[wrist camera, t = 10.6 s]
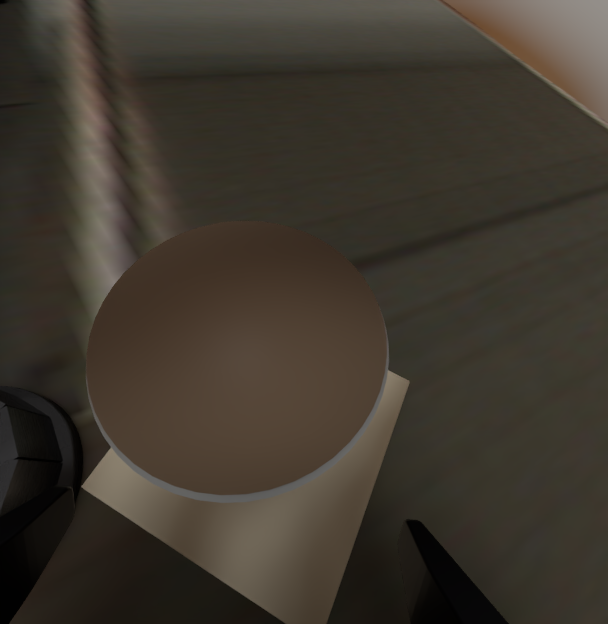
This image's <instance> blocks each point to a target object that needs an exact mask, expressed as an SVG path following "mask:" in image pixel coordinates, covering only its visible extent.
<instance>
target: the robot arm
mask: <svg viewBox="0 0 608 624" xmlns="http://www.w3.org/2000/svg"><path fill="white" fill-rule="evenodd" d="M74 513H75V505H74V494H73V489H72V488H71V487H70V486H60V485H56V486H53V487H51V488H49V489H47V490H46V491H44V492H42V493H40V494H39V495H37V496H35V497H33V498H32V499H30V500H28V501H26V502H25V503H23V504H21V505H19V506H18V507H16V508H14V509H13V510H11V511H9V512H7V513H6V514H4V515H2V516H0V624H9V623H10V621H11V620H12V618H13V617H14V615H15V614H16V613H17V611H18V610H19V608H20V607H21V605H22V604H23V602H24V601H25V599H26V598H27V596H28V595H29V593H30V592H31V590H32V589H33V587H34V585H35V584H36V582H37V580H38V579H39V577H40V575H41V574H42V572H43V570H44V568H45V567H46V565H47V563H48V561H49V560H50V558H51V556H52V554H53V553H54V551H55V549H56V547H57V546H58V544H59V542H60V541H61V539H62V537H63V535H64V534H65V532H66V530H67V528H68V527H69V525H70V523H71V521H72V519H73V517H74ZM398 553H399V559H400V565H401V571H402V577H403V583H404V589H405V594H406V600H407V606H408V612H409V617H410V622H411V624H509V623H508V622H507V621H506V620H505V619H504V618H503V616H502V615H501V614H500V613H499V612H498V611H497V610H496V608H495V607H494V606H493V605H492V604H491V603H490V601H489V600H488V599H487V598H486V597H485V596H484V594H483V593H482V592H481V591H480V590H479V589H478V587H477V586H476V585H475V584H474V583H473V582H472V581H471V579H470V578H469V577H468V576H467V575H466V574H465V572H464V571H463V570H462V569H461V568H460V567H459V565H458V564H457V563H456V562H455V561H454V560H453V558H452V557H451V556H450V555H449V554H448V553H447V551H446V550H445V549H444V548H443V547H442V546H441V545H440V543H439V542H438V541H437V540H436V539H435V538H434V536H433V535H432V534H431V533H430V532H429V531H428V529H427V528H426V527H425V526H424V525H423V524H422V523H421V522H420V521H418V520H410V519H405V520H404V522H403V525H402V528H401V532H400V536H399V540H398Z"/></svg>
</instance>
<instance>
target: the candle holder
mask: <svg viewBox="0 0 608 624" xmlns="http://www.w3.org/2000/svg"><path fill="white" fill-rule="evenodd" d="M82 464H83V458H82V447H81V442H80V438H79V435H78V432H77V430H76V427H75V425H74V423H73V422H72V420H71V419H70V417H69V416H68V415H67V413H66V412H65V411H64V410H63V409H62V408H61V407H59V406H58V405H57V404H55V403H54V402H53V401H51V400H49V399H47V398H45V397H43V396H40V395H37V394H35V393H32V392H29V391H26V390H23V389H20V388H14V387H8V386H0V516H2V515H4V514H6V513H7V512H9V511H11V510H13V509H14V508H16V507H18V506H19V505H21V504H23V503H25V502H26V501H28V500H30V499H32V498H33V497H35V496H37V495H39V494H40V493H42V492H44V491H46V490H47V489H49V488H51V487H53V486H56V485H60V486H70V487H71V488H72V489H73V494H74V504H75V501H76V498H77V494H78V491H79V487H80V482H81V476H82Z"/></svg>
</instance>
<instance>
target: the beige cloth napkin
mask: <svg viewBox="0 0 608 624" xmlns="http://www.w3.org/2000/svg"><path fill="white" fill-rule="evenodd" d="M409 383H410V381H408V380H406V379H404V378H402V377H400V376H398V375H396V374H394V373H392V372H390V371H388V373H387V380H386V384H385V388H384V392H383V396H382V398H381V401H380V403H379V406H378V408H377V411H376V413H375V415H374V417H373V419H372V420H371V422H370V424H369V426H368V427H367V429H366V431H365V432H364V434H363V435H362V436H361V437H360V439H359V440H358V441H357V443H356V444H355V445H354V446H353V448H352V449H351V450H350V451H349V452H348V453H347V454H346V455H345V456H344V457H343V458H341V459H340V460H339V461H338V462H337V463H336V464H335V465H334V466H333V467H331V468H330V469H328V470H327V471H325V472H324V473H323V474H321V475H320V476H318V477H317V478H316V479H314V480H312V481H310V482H308V483H306V484H304V485H302V486H300V487H298V488H296V489H294V490H291V491H288V492H286V493H283V494H280V495H277V496H274V497H271V498H266V499H260V500H255V501H250V502H234V503H218V502H209V501H200V500H195V499H192V498H188V497H184V496H181V495H177V494H174V493H172V492H169V491H167V490H165V489H163V488H161V487H159V486H156V485H154V484H152V483H151V482H149V481H148V480H146V479H145V478H143V477H142V476H140V475H139V474H137V473H136V472H135V471H133V470H132V469H131V468H130V467H129V466H128V465H127V464H126V463H125V462H124V461H123V460H122V459H121V458H120V457H119V456H118V455H117V454H116V453H115V451H114V450H113V449H112V447H111V448H110V450H109V451H108V452H107V454H106V455H105V456H104V458H103V459H102V460H101V461H100V463H99V464H98V465H97V467H96V468H95V469H94V471H93V472H92V473H91V475H90V476H89V477H88V478H87V480H86V481H85V482H84V484H83V485H82V486H81V487H82V488H83V489H85V490H86V491H88V492H89V493H91V494H92V495H94V496H95V497H97V498H98V499H100V500H101V501H103V502H104V503H106V504H107V505H109V506H110V507H112V508H113V509H115V510H116V511H118V512H119V513H121V514H122V515H124V516H125V517H127V518H128V519H130V520H131V521H133V522H134V523H136V524H137V525H139V526H140V527H142V528H143V529H145V530H146V531H148V532H149V533H151V534H152V535H154V536H155V537H157V538H158V539H160V540H161V541H163V542H164V543H166V544H167V545H169V546H170V547H172V548H173V549H175V550H176V551H178V552H179V553H181V554H182V555H184V556H185V557H187V558H188V559H190V560H191V561H193V562H194V563H196V564H197V565H199V566H200V567H202V568H203V569H205V570H206V571H208V572H209V573H211V574H212V575H214V576H215V577H217V578H218V579H220V580H221V581H223V582H224V583H226V584H227V585H229V586H230V587H232V588H233V589H235V590H236V591H238V592H239V593H241V594H242V595H244V596H245V597H247V598H248V599H250V600H251V601H253V602H254V603H256V604H257V605H259V606H260V607H262V608H263V609H265V610H266V611H268V612H269V613H271V614H272V615H274V616H275V617H277V618H278V619H280V620H281V621H283V622H284V623H286V624H326V623H327V621H328V618H329V615H330V612H331V609H332V606H333V603H334V600H335V597H336V594H337V592H338V589H339V586H340V583H341V580H342V577H343V574H344V571H345V568H346V565H347V562H348V560H349V557H350V554H351V551H352V548H353V545H354V542H355V539H356V536H357V533H358V531H359V528H360V525H361V522H362V519H363V516H364V513H365V510H366V507H367V504H368V502H369V499H370V496H371V493H372V490H373V487H374V484H375V481H376V478H377V475H378V473H379V470H380V467H381V464H382V461H383V458H384V455H385V452H386V449H387V446H388V444H389V441H390V438H391V435H392V432H393V429H394V426H395V423H396V420H397V417H398V415H399V412H400V409H401V406H402V403H403V400H404V397H405V394H406V391H407V388H408V386H409Z"/></svg>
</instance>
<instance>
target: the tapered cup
mask: <svg viewBox="0 0 608 624" xmlns="http://www.w3.org/2000/svg"><path fill="white" fill-rule="evenodd" d="M388 364H389V347H388V337H387V331H386V326H385V322H384V319H383V316H382V313H381V310H380V308H379V305H378V303H377V301H376V298H375V296H374V294H373V292H372V290H371V289H370V287H369V285H368V284H367V282H366V281H365V279H364V278H363V276H362V275H361V274H360V273H359V271H358V270H357V269H356V268H355V267H354V265H353V264H351V263H350V262H349V261H348V260H347V259H346V258H345V257H344V256H343V255H342V254H341V253H339V252H338V251H337V250H335V249H334V248H333V247H331V246H330V245H328V244H327V243H325V242H323V241H322V240H320V239H318V238H316V237H314V236H312V235H310V234H308V233H306V232H303V231H300V230H297V229H294V228H291V227H288V226H284V225H280V224H275V223H268V222H261V221H231V222H223V223H216V224H211V225H207V226H203V227H199V228H195V229H193V230H190V231H187V232H184V233H182V234H179V235H177V236H175V237H173V238H171V239H169V240H167V241H165V242H163V243H162V244H160V245H158V246H157V247H155V248H153V249H152V250H150V251H149V252H148V253H146V254H145V255H144V256H142V257H141V258H140V259H138V260H137V261H136V262H135V263H134V264H133V265H132V266H131V267H130V268H129V269H128V270H127V271H126V272H125V273H124V274H123V275H122V276H121V277H120V279H119V280H118V281H117V282H116V283H115V285H114V286H113V287H112V289H111V290H110V292H109V293H108V295H107V297H106V298H105V300H104V301H103V303H102V305H101V307H100V310H99V312H98V314H97V316H96V318H95V321H94V324H93V327H92V330H91V333H90V337H89V343H88V349H87V359H86V383H87V390H88V398H89V402H90V405H91V408H92V411H93V415H94V418H95V420H96V422H97V424H98V426H99V428H100V430H101V432H102V434H103V436H104V438H105V439H106V441H107V442H108V443H109V445H110V446H111V447H112V449H113V450H114V451H115V453H116V454H117V455H118V456H119V457H120V458H121V459H122V460H123V461H124V462H125V463H126V464H127V465H128V466H129V467H130V468H131V469H132V470H133V471H135V472H136V473H137V474H139V475H140V476H142V477H143V478H145V479H146V480H148V481H149V482H151V483H152V484H154V485H156V486H159V487H161V488H163V489H165V490H167V491H169V492H172V493H174V494H177V495H181V496H184V497H188V498H192V499H195V500H200V501H209V502H218V503H234V502H250V501H255V500H260V499H266V498H271V497H274V496H277V495H280V494H283V493H286V492H288V491H291V490H294V489H296V488H298V487H300V486H302V485H304V484H306V483H308V482H310V481H312V480H314V479H316V478H317V477H318V476H320V475H321V474H323V473H324V472H325V471H327V470H328V469H330V468H331V467H333V466H334V465H335V464H336V463H337V462H338V461H339V460H340V459H341V458H343V457H344V456H345V455H346V454H347V453H348V452H349V451H350V450H351V449H352V448H353V446H354V445H355V444H356V443H357V441H358V440H359V439H360V437H361V436H362V435H363V434H364V432H365V431H366V429H367V427H368V426H369V424H370V422H371V420H372V419H373V417H374V415H375V413H376V411H377V408H378V406H379V403H380V401H381V398H382V396H383V392H384V388H385V384H386V380H387V373H388Z"/></svg>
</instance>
